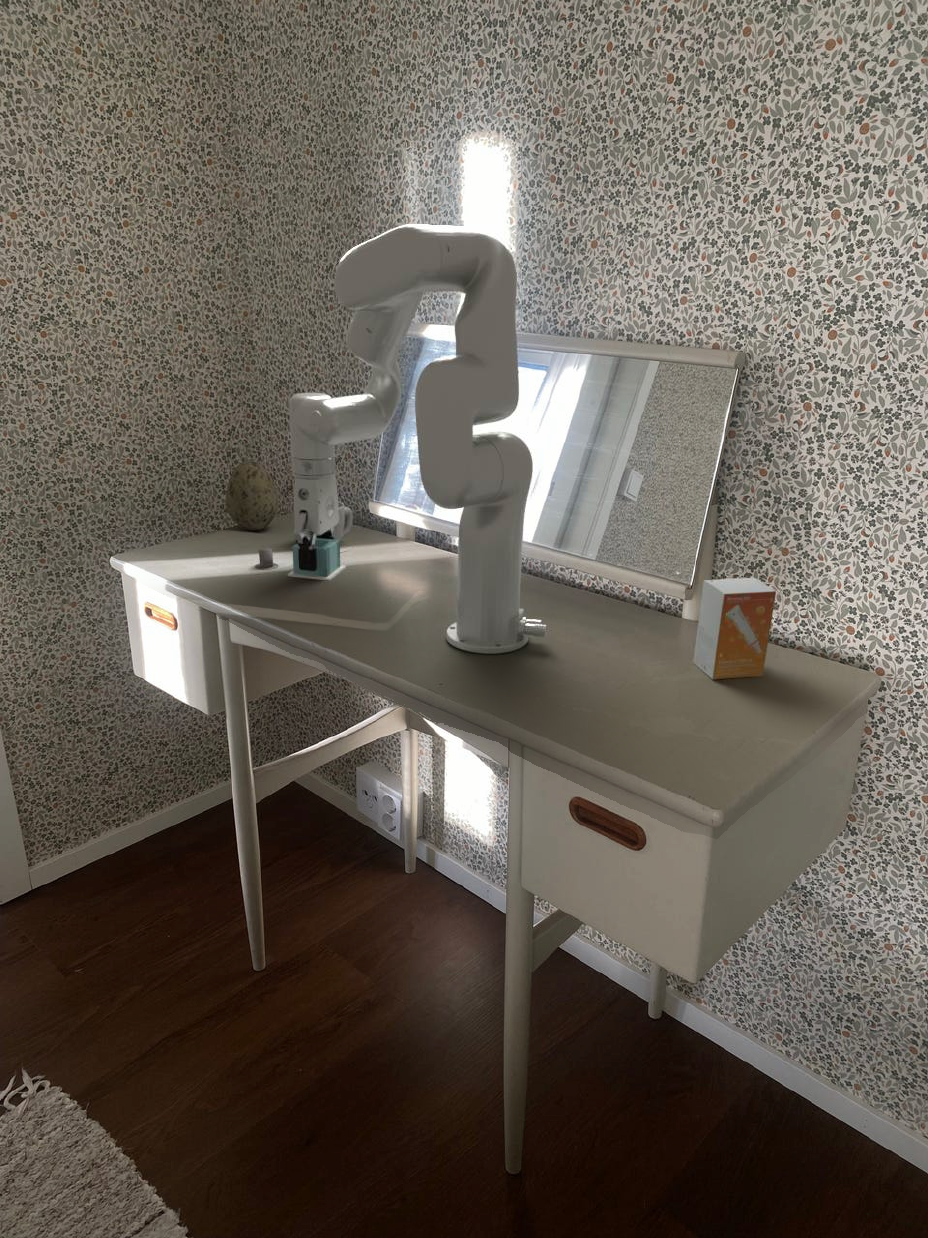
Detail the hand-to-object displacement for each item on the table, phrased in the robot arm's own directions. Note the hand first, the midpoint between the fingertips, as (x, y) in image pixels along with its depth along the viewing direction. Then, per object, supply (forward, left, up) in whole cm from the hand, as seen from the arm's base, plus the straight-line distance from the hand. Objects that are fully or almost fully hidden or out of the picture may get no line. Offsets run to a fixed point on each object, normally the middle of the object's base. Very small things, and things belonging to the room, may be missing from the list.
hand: (317, 562), depth 167 cm
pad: (0, 0, -2) cm, 2 cm away
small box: (-72, +20, -3) cm, 75 cm away
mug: (+5, -18, -3) cm, 19 cm away
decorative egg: (+26, -27, -3) cm, 38 cm away
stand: (+5, 0, -3) cm, 6 cm away
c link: (0, 0, -1) cm, 1 cm away
